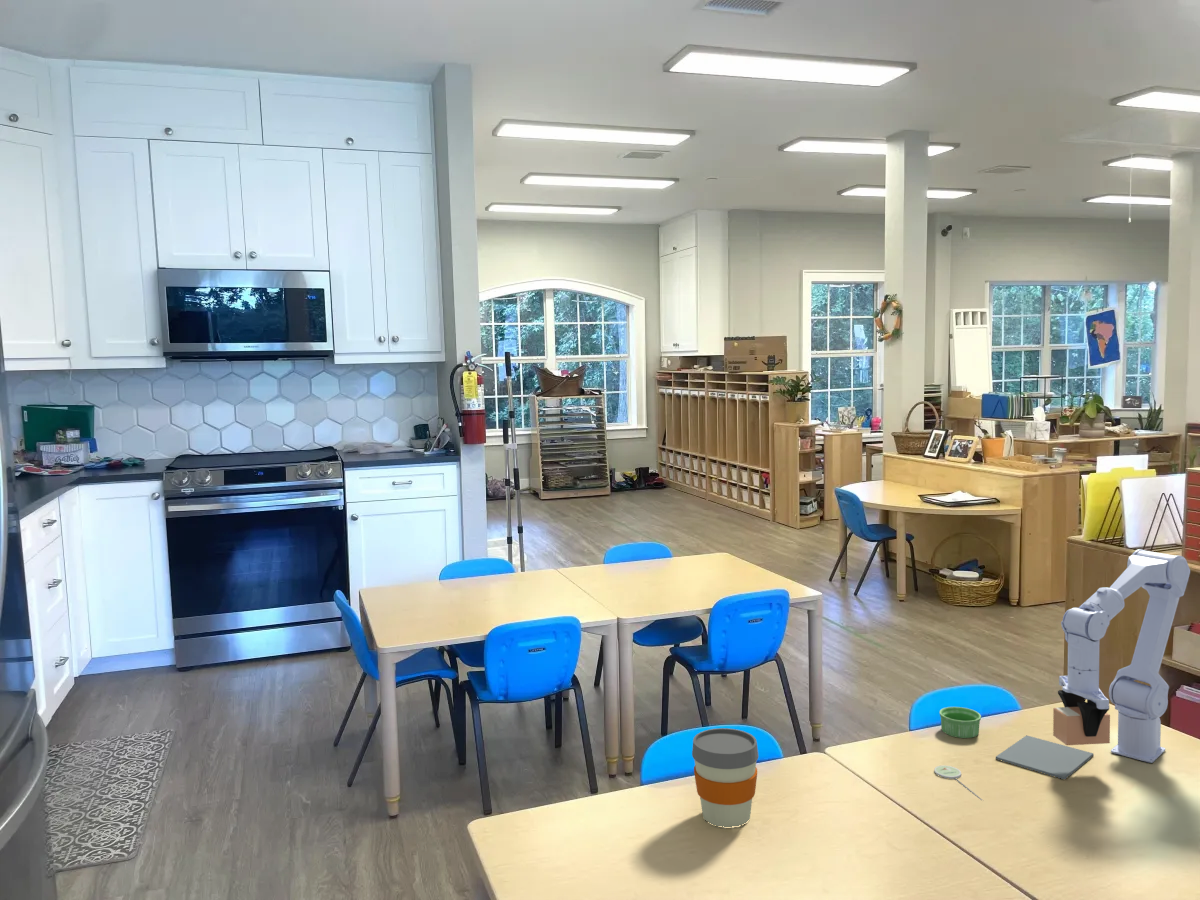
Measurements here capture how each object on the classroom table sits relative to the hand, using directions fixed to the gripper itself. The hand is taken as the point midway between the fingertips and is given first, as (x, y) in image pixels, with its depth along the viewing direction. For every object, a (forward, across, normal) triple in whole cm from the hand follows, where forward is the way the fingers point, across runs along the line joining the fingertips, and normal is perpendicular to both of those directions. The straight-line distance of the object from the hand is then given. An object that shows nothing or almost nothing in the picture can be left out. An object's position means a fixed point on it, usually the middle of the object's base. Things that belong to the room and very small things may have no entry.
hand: (1082, 730), depth 181 cm
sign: (+9, +4, -27) cm, 29 cm away
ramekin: (+9, -22, -16) cm, 28 cm away
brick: (+2, 0, 0) cm, 2 cm away
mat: (+8, -6, -4) cm, 11 cm away
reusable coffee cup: (+9, +13, -77) cm, 79 cm away
